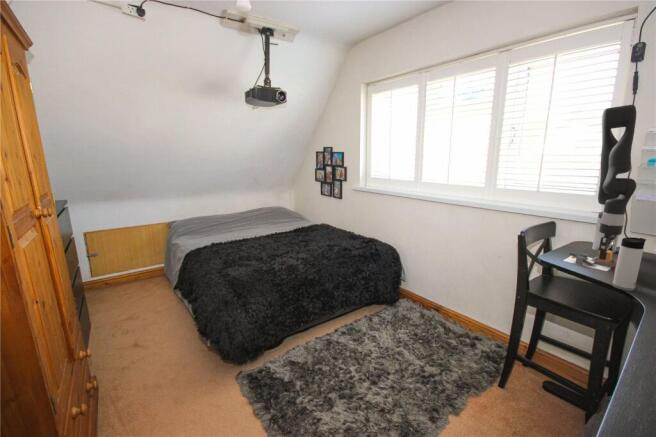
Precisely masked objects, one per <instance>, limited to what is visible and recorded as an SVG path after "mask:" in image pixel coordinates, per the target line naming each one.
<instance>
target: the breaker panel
mask: <svg viewBox="0 0 656 437" xmlns="http://www.w3.org/2000/svg"><path fill="white" fill-rule="evenodd" d="M587 258H588V259H590V260H591V259H593V258H594V257H589V256H588V257H587ZM562 261H563V262H567V263H571V264H575V265H577V264H576V258H575V257H573V256H571V255H570V256H568V257H567V258H565V259H563V260H562ZM578 265H579V266H581V265H580V264H578ZM582 266H583V267H586V268H587V267H588V268H591V269H596V270H600V271H603V272H604V271H605V272H608V271H609V270H611V268H610V267H606V266H602V265H597V264H593V265H591V266H590V265H588V264H586V263H584V262H583V265H582Z"/></svg>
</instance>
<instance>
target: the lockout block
mask: <svg viewBox="0 0 656 437" xmlns="http://www.w3.org/2000/svg"><path fill="white" fill-rule="evenodd" d="M613 254H614V253H613V251H609V250H608V252H607V255H606V259H605V260H601V259H599V255H600V251H599V250H598V255H597V257H598V259H597V261H601V262H606V263H610V264H611V260H613Z"/></svg>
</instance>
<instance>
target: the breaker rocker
mask: <svg viewBox="0 0 656 437" xmlns="http://www.w3.org/2000/svg"><path fill="white" fill-rule="evenodd" d="M569 255H570V256H573V257H575V258H577V256H579V257H584V256H582V255H581V253H579V252H576V251H575V250H572V251H570V253H569ZM583 262H584V263H586V264H588V265H590V266H591V265H593V264H594V263H595V262H594V261H592V260H590V259H588V258H586V257H584V259H583Z"/></svg>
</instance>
